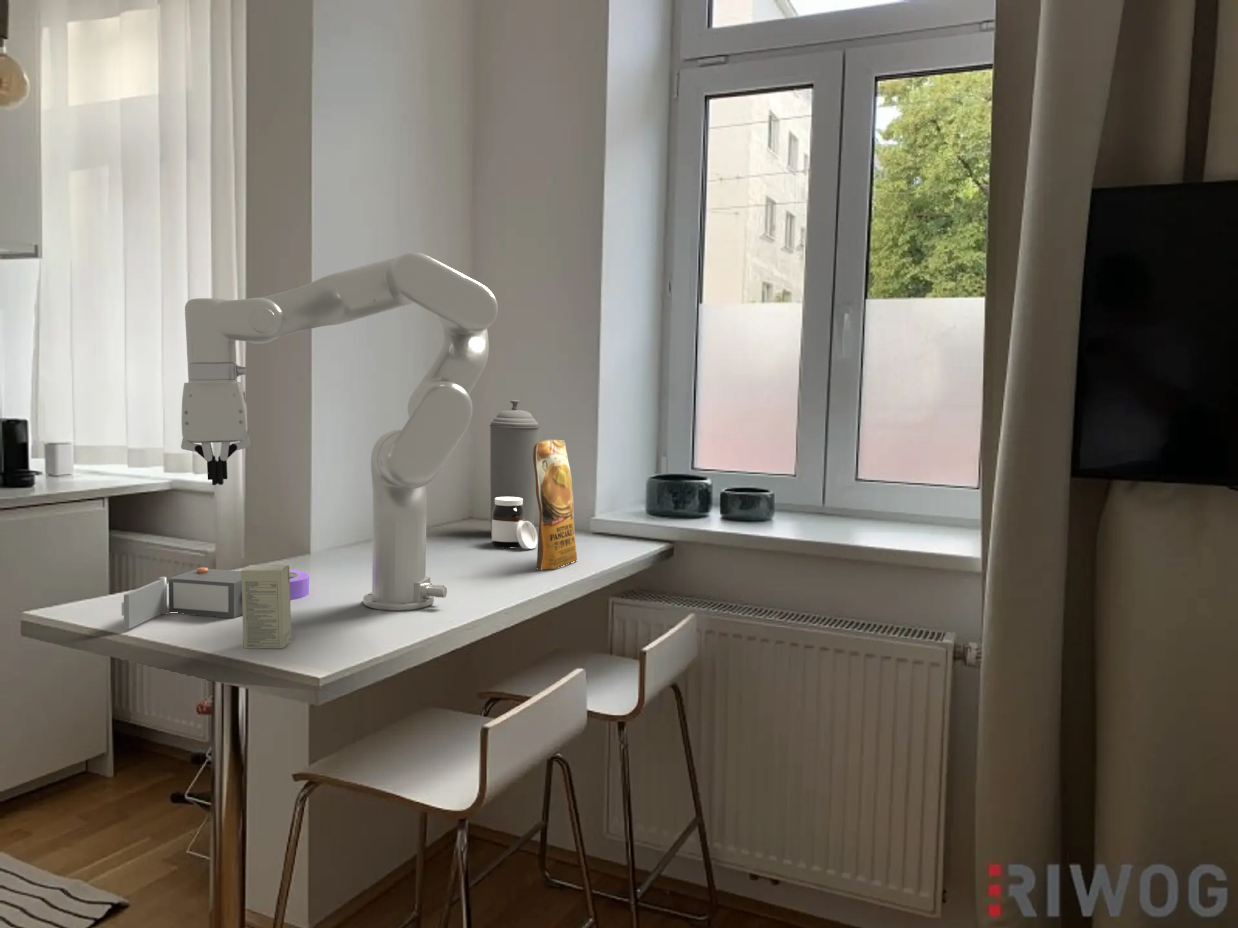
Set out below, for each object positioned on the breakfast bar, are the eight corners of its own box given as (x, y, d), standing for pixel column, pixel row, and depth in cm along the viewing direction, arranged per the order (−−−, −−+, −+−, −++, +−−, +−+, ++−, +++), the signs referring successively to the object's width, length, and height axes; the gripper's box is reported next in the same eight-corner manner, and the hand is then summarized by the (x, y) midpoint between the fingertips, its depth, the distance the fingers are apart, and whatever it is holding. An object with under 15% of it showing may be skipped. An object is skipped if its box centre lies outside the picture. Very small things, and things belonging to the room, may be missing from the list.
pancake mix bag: (519, 569, 215) (522, 440, 212) (560, 555, 232) (563, 436, 229) (547, 573, 212) (550, 442, 209) (586, 559, 229) (589, 438, 227)
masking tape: (317, 589, 191) (317, 570, 191) (296, 603, 180) (296, 583, 179) (257, 587, 192) (257, 567, 191) (232, 601, 180) (232, 580, 180)
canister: (528, 540, 251) (532, 401, 248) (480, 537, 254) (483, 399, 250) (542, 532, 263) (545, 400, 260) (496, 529, 266) (499, 398, 263)
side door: (130, 631, 157) (129, 592, 157) (120, 630, 157) (119, 592, 157) (168, 612, 169) (167, 576, 169) (159, 612, 169) (158, 576, 169)
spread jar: (495, 541, 248) (496, 495, 247) (540, 543, 248) (541, 497, 247) (487, 550, 236) (488, 501, 235) (534, 552, 236) (535, 503, 235)
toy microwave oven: (268, 606, 176) (268, 569, 176) (240, 618, 167) (240, 579, 167) (199, 600, 178) (199, 564, 178) (168, 613, 169) (167, 574, 169)
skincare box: (292, 641, 155) (292, 564, 154) (283, 649, 151) (283, 570, 150) (250, 640, 155) (250, 563, 154) (240, 648, 151) (240, 569, 149)
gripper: (261, 373, 170) (265, 479, 172) (166, 374, 166) (171, 483, 168) (259, 374, 163) (264, 484, 165) (160, 375, 159) (166, 489, 161)
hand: (218, 483), depth 167 cm, fingers closed
